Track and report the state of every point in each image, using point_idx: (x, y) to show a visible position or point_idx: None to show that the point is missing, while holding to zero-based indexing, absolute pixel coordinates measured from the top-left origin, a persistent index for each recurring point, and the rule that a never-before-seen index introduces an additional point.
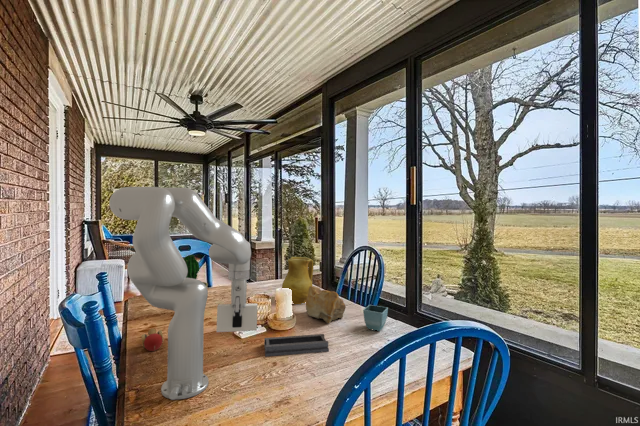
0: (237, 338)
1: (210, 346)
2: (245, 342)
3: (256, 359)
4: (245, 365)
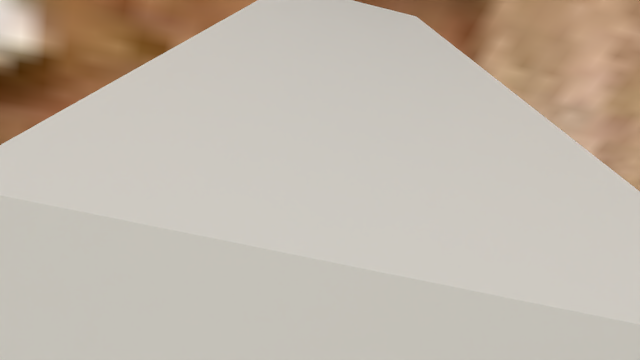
0: (49, 85)
1: None
2: (150, 36)
3: (520, 21)
4: (555, 120)
